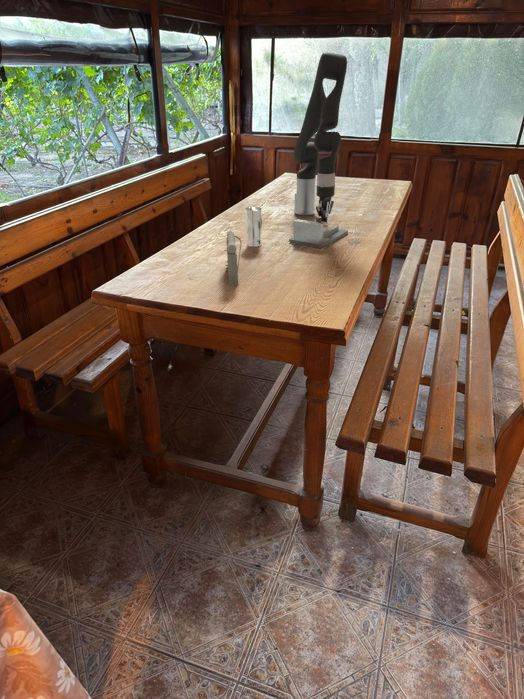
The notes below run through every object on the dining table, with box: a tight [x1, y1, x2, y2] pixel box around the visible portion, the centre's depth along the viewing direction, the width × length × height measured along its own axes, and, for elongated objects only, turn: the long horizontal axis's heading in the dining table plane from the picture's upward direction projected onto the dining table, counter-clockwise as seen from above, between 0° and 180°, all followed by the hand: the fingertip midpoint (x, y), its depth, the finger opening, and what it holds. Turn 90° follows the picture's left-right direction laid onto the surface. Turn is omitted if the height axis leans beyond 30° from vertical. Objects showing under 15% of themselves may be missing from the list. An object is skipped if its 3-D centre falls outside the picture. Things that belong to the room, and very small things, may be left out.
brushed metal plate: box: [292, 219, 323, 244], centre depth 202 cm, size 12×3×8 cm, turn 58°
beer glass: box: [244, 206, 263, 248], centre depth 202 cm, size 7×7×15 cm
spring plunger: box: [313, 217, 329, 233], centre depth 209 cm, size 6×6×7 cm
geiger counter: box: [223, 230, 242, 286], centre depth 171 cm, size 14×6×25 cm
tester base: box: [288, 225, 349, 249], centre depth 212 cm, size 16×24×4 cm, turn 148°
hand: (324, 225), depth 213 cm, fingers closed
